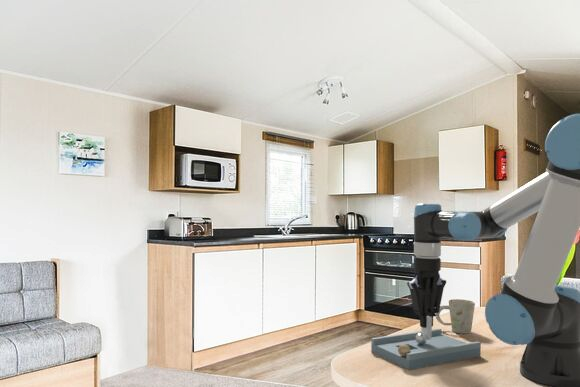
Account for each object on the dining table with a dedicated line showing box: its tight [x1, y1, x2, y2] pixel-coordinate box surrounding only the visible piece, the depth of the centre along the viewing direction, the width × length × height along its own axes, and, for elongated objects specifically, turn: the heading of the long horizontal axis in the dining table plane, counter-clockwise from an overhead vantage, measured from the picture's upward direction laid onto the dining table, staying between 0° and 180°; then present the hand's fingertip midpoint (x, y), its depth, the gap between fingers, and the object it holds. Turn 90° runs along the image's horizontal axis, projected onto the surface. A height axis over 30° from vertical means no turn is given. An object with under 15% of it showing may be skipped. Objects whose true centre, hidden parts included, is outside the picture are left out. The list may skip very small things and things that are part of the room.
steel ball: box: [415, 333, 427, 345], centre depth 135 cm, size 3×3×3 cm
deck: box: [370, 328, 482, 371], centre depth 135 cm, size 16×26×4 cm, turn 117°
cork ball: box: [398, 344, 411, 357], centre depth 125 cm, size 3×3×3 cm
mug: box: [435, 298, 476, 335], centre depth 160 cm, size 8×13×10 cm, turn 79°
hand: (426, 338), depth 137 cm, fingers closed
